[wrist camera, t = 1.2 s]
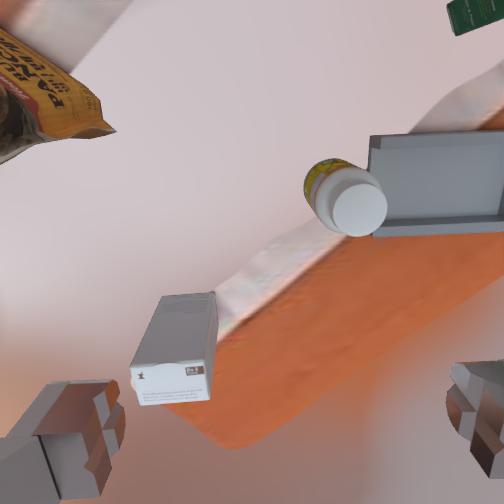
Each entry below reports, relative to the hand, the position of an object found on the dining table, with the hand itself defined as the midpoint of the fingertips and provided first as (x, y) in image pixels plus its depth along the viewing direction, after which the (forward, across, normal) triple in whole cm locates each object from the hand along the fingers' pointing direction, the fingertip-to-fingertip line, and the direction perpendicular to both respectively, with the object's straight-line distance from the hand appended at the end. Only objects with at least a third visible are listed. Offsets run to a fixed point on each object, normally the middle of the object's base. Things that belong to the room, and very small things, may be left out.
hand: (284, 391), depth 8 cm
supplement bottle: (+27, -7, 0) cm, 28 cm away
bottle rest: (+27, -18, 0) cm, 32 cm away
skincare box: (+28, +8, +13) cm, 31 cm away
